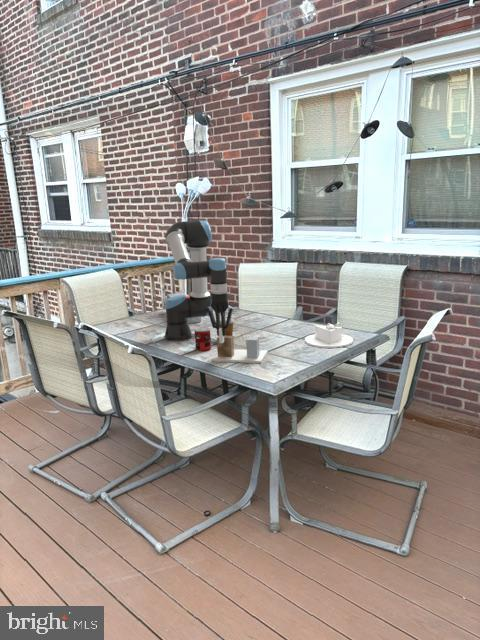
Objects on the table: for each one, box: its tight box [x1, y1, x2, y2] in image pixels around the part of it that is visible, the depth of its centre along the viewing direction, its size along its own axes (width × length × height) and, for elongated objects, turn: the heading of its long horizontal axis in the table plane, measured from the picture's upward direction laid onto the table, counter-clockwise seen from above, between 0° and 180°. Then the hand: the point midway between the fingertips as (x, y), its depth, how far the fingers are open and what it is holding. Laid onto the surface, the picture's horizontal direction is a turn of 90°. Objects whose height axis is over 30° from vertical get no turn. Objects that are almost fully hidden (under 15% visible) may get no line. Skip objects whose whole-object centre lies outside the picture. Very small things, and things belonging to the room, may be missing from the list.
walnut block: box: [216, 335, 235, 358], centre depth 221 cm, size 7×4×10 cm, turn 75°
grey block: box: [245, 336, 260, 358], centre depth 220 cm, size 5×5×9 cm
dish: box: [304, 321, 354, 349], centre depth 242 cm, size 25×25×11 cm
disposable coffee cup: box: [220, 316, 235, 336], centre depth 252 cm, size 10×10×12 cm
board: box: [211, 348, 269, 364], centre depth 224 cm, size 24×16×1 cm, turn 75°
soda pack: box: [166, 291, 202, 325], centre depth 309 cm, size 41×13×14 cm, turn 22°
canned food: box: [194, 326, 212, 352], centre depth 237 cm, size 8×8×11 cm
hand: (221, 342), depth 215 cm, fingers closed
